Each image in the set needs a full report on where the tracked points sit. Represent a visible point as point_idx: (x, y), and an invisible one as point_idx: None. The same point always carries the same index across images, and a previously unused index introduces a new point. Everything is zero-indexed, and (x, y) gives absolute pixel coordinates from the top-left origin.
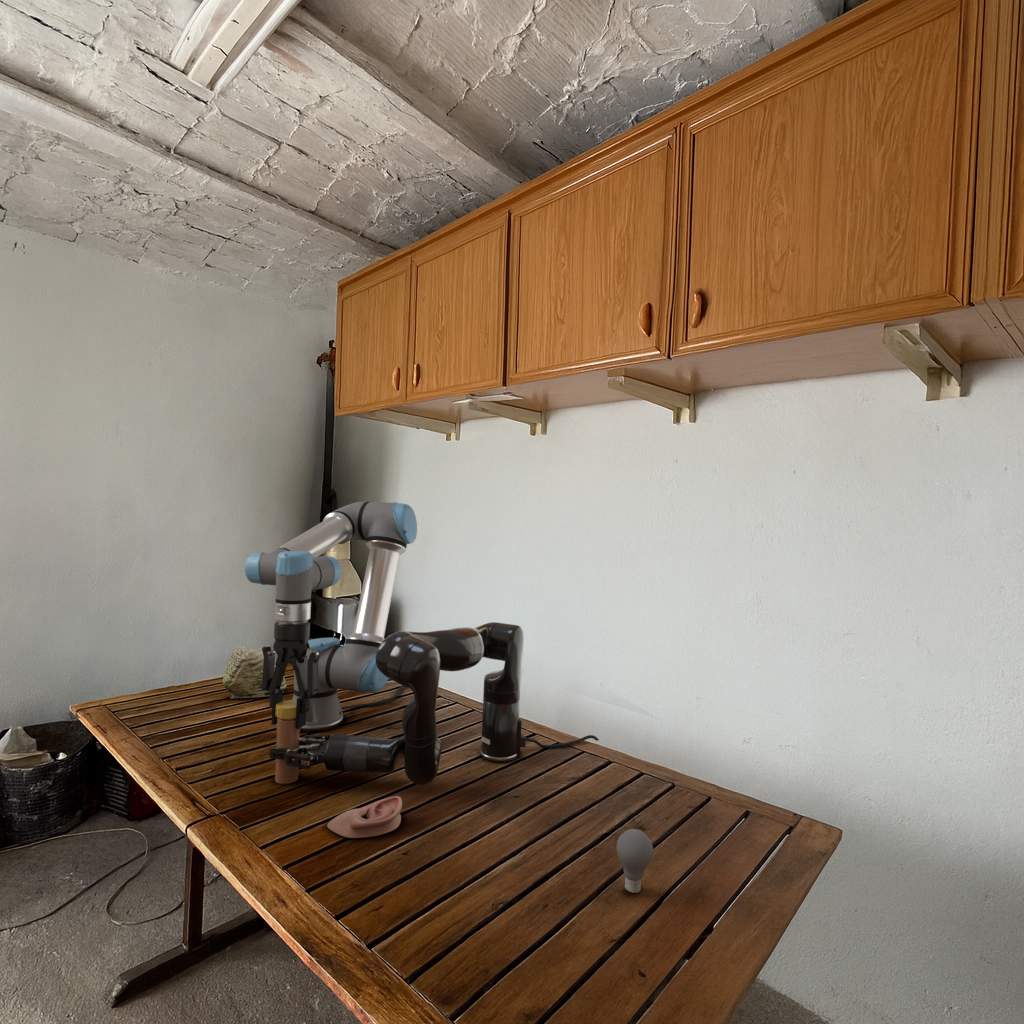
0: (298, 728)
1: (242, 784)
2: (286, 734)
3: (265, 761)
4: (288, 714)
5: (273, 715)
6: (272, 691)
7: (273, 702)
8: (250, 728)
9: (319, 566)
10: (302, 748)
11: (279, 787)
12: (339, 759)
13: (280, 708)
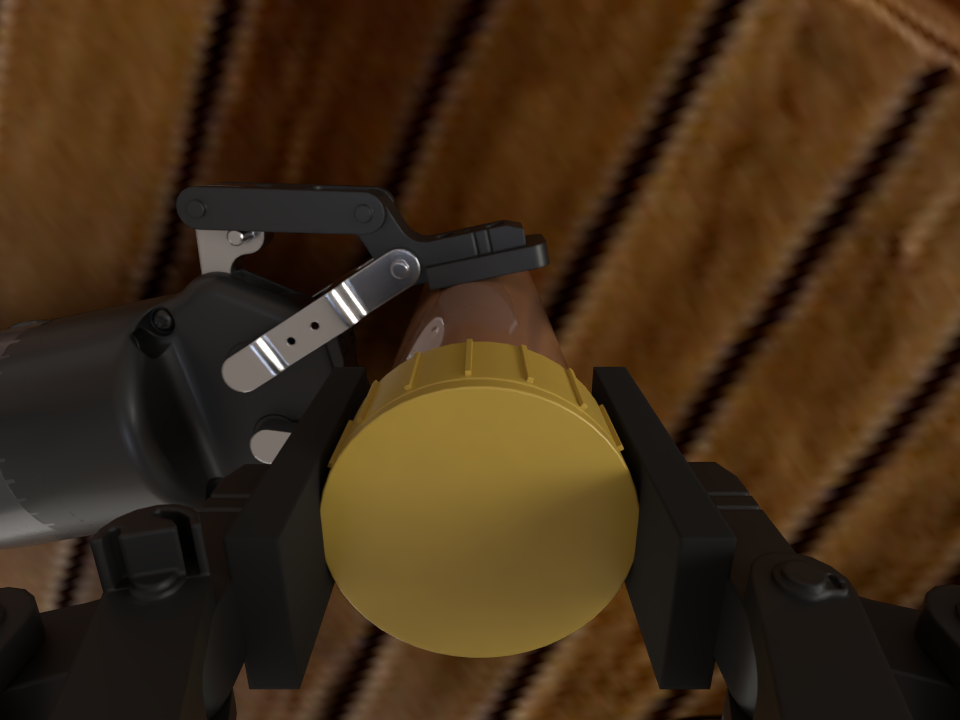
0: (335, 369)
1: (655, 165)
2: (437, 317)
3: (692, 425)
4: (399, 379)
5: (625, 401)
6: (774, 590)
7: (676, 477)
8: None
9: None
10: (312, 303)
11: (456, 205)
12: (62, 318)
13: (497, 382)
